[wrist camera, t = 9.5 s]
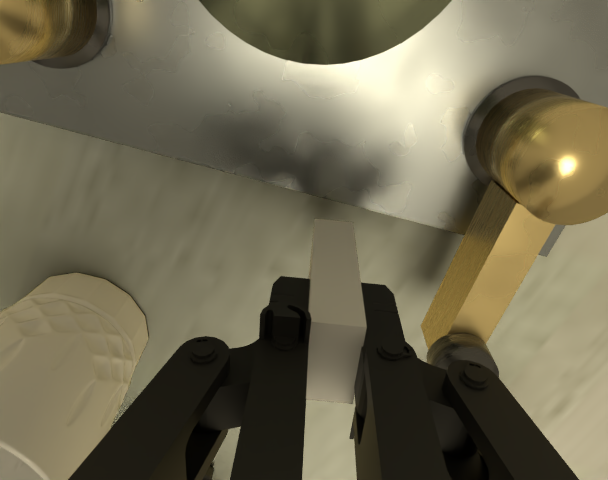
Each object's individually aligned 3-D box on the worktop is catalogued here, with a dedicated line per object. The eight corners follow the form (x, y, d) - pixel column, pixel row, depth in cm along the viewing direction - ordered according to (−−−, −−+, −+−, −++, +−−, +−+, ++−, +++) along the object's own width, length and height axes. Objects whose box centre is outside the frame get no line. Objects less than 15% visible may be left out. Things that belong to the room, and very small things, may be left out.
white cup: (-4, 326, 25) (-191, 497, 16) (57, 233, 22) (-129, 377, 13) (117, 395, 27) (11, 582, 18) (186, 318, 24) (104, 494, 15)
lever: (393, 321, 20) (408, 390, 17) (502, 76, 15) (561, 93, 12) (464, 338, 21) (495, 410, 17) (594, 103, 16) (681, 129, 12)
